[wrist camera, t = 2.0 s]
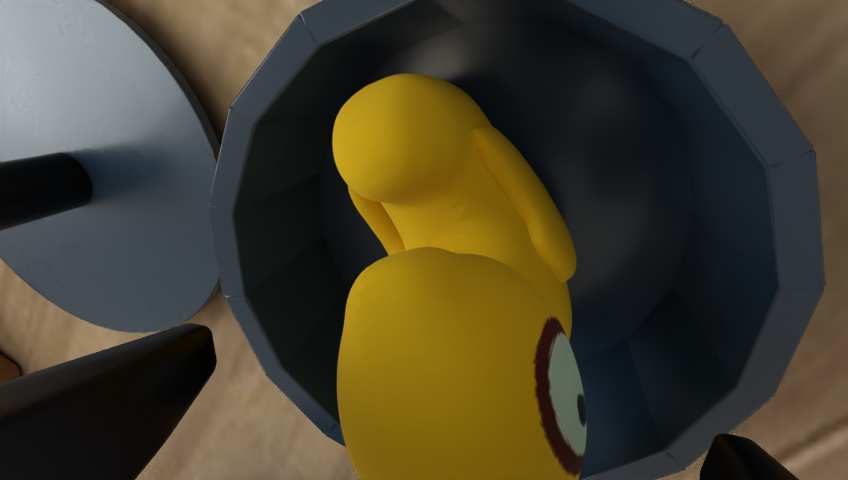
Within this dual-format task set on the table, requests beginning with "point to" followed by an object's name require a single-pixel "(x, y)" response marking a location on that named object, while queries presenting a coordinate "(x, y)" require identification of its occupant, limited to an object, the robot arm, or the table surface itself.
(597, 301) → the pot
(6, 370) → the plant
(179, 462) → the table surface
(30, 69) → the pot lid
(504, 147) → the duckling
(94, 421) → the robot arm
